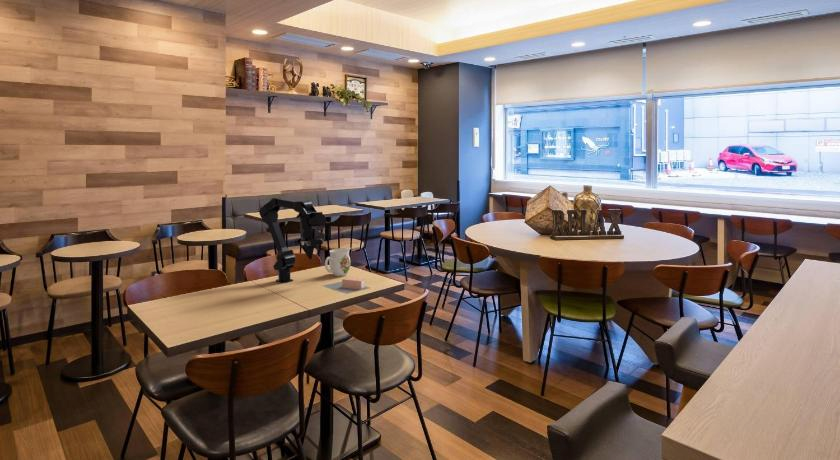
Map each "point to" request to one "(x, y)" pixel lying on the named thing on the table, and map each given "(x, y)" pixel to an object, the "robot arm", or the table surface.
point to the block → (353, 283)
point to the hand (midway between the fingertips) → (310, 259)
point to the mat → (338, 287)
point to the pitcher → (338, 261)
